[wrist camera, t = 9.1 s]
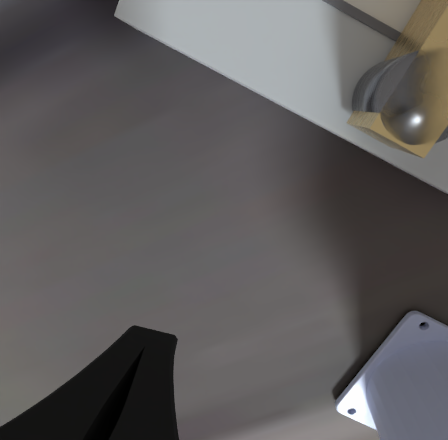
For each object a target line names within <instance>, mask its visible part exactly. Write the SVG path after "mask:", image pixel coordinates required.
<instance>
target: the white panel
mask: <svg viewBox="0 0 448 440" xmlns="http://www.w3.org/2000/svg"><path fill="white" fill-rule="evenodd" d="M420 2H421V0H119V2H118V5H117V8H116V11H115V14H114V16H115V17H117V18H118V19H120V20H122V21H123V22H125V23H127V24H128V25H130V26H132V27H133V28H135V29H137V30H139V31H141V32H143V33H144V34H146V35H148V36H150V37H152V38H154V39H156V40H158V41H160V42H161V43H163V44H165V45H167V46H169V47H171V48H173V49H175V50H176V51H178V52H180V53H182V54H184V55H186V56H188V57H190V58H192V59H193V60H195V61H197V62H199V63H201V64H203V65H205V66H207V67H209V68H210V69H212V70H214V71H216V72H218V73H220V74H222V75H224V76H225V77H227V78H229V79H231V80H233V81H235V82H237V83H239V84H241V85H242V86H244V87H246V88H248V89H250V90H252V91H254V92H256V93H258V94H259V95H261V96H263V97H265V98H267V99H269V100H271V101H273V102H274V103H276V104H278V105H280V106H282V107H284V108H286V109H288V110H290V111H291V112H293V113H295V114H297V115H299V116H301V117H303V118H305V119H307V120H308V121H310V122H312V123H314V124H316V125H318V126H320V127H322V128H323V129H325V130H327V131H329V132H331V133H333V134H335V135H337V136H339V137H340V138H342V139H344V140H346V141H348V142H350V143H352V144H354V145H356V146H357V147H359V148H361V149H363V150H365V151H367V152H369V153H371V154H372V155H374V156H376V157H378V158H380V159H382V160H384V161H386V162H388V163H389V164H391V165H393V166H395V167H397V168H399V169H401V170H403V171H405V172H406V173H408V174H410V175H412V176H414V177H416V178H418V179H420V180H421V181H423V182H425V183H427V184H429V185H431V186H433V187H435V188H437V189H438V190H440V191H442V192H444V193H446V194H448V138H447V139H445V140H443V141H441V142H438V143H435V144H434V145H433V147H432V148H431V149H430V151H429V152H428V154H427V155H426V156H425V158H421V157H418V156H415V155H412V154H409V153H406V152H403V151H400V150H397V149H394V148H391V147H389V146H387V145H385V144H383V143H382V142H380V141H378V140H376V139H374V138H373V137H371V136H369V135H367V134H365V133H363V132H362V131H360V130H358V129H356V128H354V127H353V126H351V125H349V124H347V121H348V119H349V118H350V116H351V114H352V113H353V111H352V96H353V92H354V89H355V87H356V85H357V83H358V81H359V80H360V78H361V77H362V76H363V74H364V73H365V72H366V71H367V70H369V69H370V68H371V67H373V66H374V65H376V64H378V63H381V62H383V61H384V60H385V59H386V57H387V56H388V54H389V52H390V51H391V49H392V47H393V46H394V44H395V42H396V41H397V39H398V38H399V36H400V34H401V33H402V31H403V29H404V28H405V26H406V24H407V23H408V21H409V20H410V18H411V16H412V15H413V13H414V11H415V10H416V8H417V7H418V5H419V3H420Z"/></svg>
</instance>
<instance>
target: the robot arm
mask: <svg viewBox="0 0 448 440" xmlns="http://www.w3.org/2000/svg"><path fill="white" fill-rule="evenodd" d="M422 322H426V323H425V324H424V325H423V326H419V325H420V324H421V323H422ZM177 340H178V339H177V338H176V336H175V335H172V334H168V333H164V332H160V331H156V330H152V329H147V328H143V327H139V326H135V325H134V326H132V327H130V328H129V329H128V330H127V331H126V332H125V333H124V334H123V335H122V336H121V337H120V338H119V339H118V340H117V341H116V342H114V343H113V344H112V345H111V346H110V347H109V348H108V349H107V350H106V351H104V352H103V353H102V354H101V355H100V356H99V357H97V358H96V359H95V360H94V361H93V362H91V363H90V364H89V365H88V366H87V367H85V368H84V369H83V370H82V371H81V372H79V373H78V374H77V375H75V376H74V377H73V378H71V379H70V380H69V381H67V382H66V383H65V384H63V385H62V386H61V387H59V388H58V389H57V390H55V391H54V392H53V393H51V394H50V395H49V396H47V397H46V398H44V399H43V400H41V401H40V402H38V403H37V404H36V405H34V406H33V407H31V408H30V409H28V410H26V411H25V412H23V413H22V414H20V415H19V416H17V417H16V418H14V419H12V420H11V421H9V422H8V423H6V424H4V425H3V426H1V427H0V440H179V437H178V430H177V422H176V413H175V402H174V384H173V366H174V355H175V350H176V345H177ZM335 406H336V409H337V411H338V412H339V413H341V414H343V415H345V416H348V417H350V418H352V419H354V420H356V421H358V422H360V423H363V424H365V425H367V426H369V427H371V428H373V429H375V430H377V431H378V434H379V437H380V440H448V326H447V325H445V324H443V323H441V322H439V321H437V320H435V319H433V318H431V317H429V316H427V315H425V314H423V313H421V312H419V311H411V312H408V313H407V314H406V315H405V316H404V317H403V319H402V320H401V321H400V322H399V324H398V325H397V326H396V327H395V328H394V330H393V331H392V332H391V333H390V335H389V336H388V337H387V338H386V340H385V341H384V342H383V343H382V344H381V346H380V347H379V348H378V349H377V351H376V352H375V353H374V354H373V356H372V357H371V358H370V359H369V360H368V362H367V363H366V364H365V365H364V367H363V368H362V369H361V370H360V371H359V373H358V374H357V375H356V376H355V378H354V379H353V380H352V381H351V383H350V384H349V385H348V386H347V387H346V389H345V390H344V391H343V392H342V394H341V395H340V396H339V397H338V399H337V400H336V402H335ZM350 408H353V409H350Z"/></svg>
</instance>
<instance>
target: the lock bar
mask: <svg viewBox="0 0 448 440" xmlns="http://www.w3.org/2000/svg"><path fill="white" fill-rule="evenodd" d="M352 111H353V113H352V114H351V116H350V118H349V119H348V121H347V124H349V125H351V126H353V127H354V128H356V129H358V130H360V131H362V132H363V133H365V134H367V135H369V136H371V137H373V138H374V139H376V140H378V141H380V142H382V143H383V144H385V145H387V146H389V147H391V148H394V149H397V150H400V151H403V152H406V153H409V154H412V155H415V156H418V157H421V158H425V156H426V155H427V154H428V152H429V151H430V149H431V148H432V147H433V145H434V144H435V143H438V142H441V141H443V140H445V139H447V138H448V0H421V2H420V3H419V5H418V7H417V8H416V10H415V11H414V13H413V15H412V16H411V18H410V20H409V21H408V23H407V24H406V26H405V28H404V29H403V31H402V33H401V34H400V36H399V38H398V39H397V41H396V42H395V44H394V46H393V47H392V49H391V51H390V52H389V54H388V56H387V57H386V59H385V60H384V61H383V62H381V63H378V64H376V65H374V66H373V67H371V68H370V69H369V70H367V71H366V72H365V73H364V74H363V76H362V77H361V78H360V80H359V81H358V83H357V85H356V87H355V89H354V92H353V96H352Z"/></svg>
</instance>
